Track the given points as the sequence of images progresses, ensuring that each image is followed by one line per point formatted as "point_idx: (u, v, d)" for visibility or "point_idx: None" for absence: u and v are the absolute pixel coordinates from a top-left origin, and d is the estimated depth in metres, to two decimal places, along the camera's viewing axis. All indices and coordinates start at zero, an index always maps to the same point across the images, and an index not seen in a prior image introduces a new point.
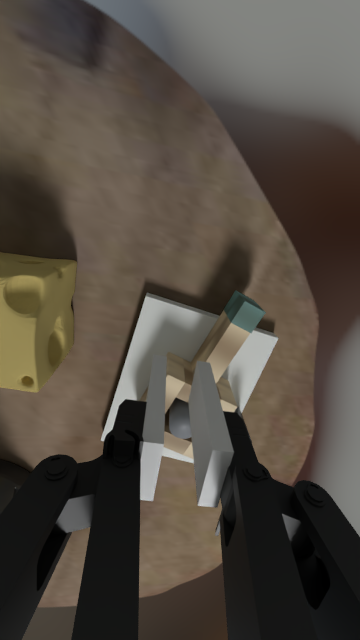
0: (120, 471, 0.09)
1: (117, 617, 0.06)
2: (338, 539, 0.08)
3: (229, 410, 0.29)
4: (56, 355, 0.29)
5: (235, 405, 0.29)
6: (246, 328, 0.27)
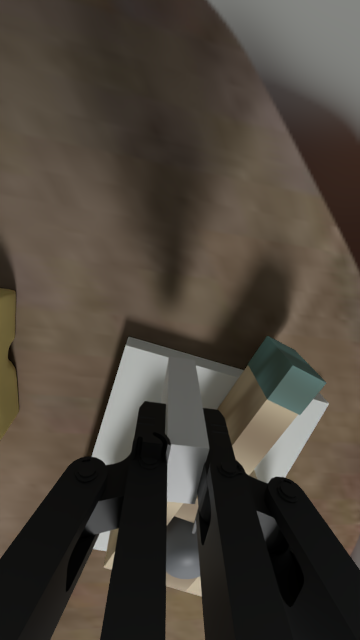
0: (147, 473, 0.09)
1: (145, 618, 0.06)
2: (311, 535, 0.08)
3: None
4: None
5: None
6: (292, 407, 0.16)
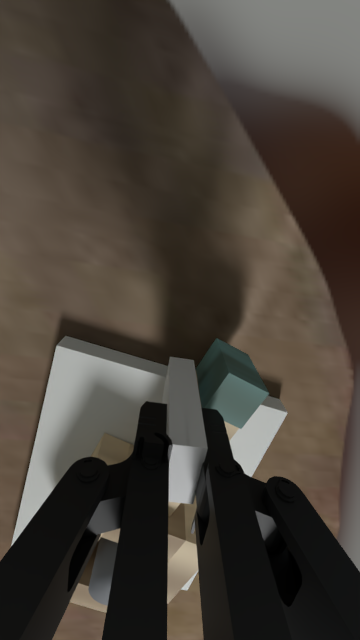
0: (149, 473, 0.09)
1: (147, 618, 0.06)
2: (309, 534, 0.08)
3: None
4: None
5: None
6: (231, 420, 0.14)
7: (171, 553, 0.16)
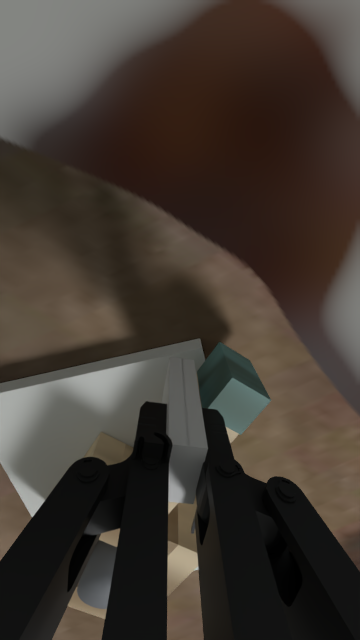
0: (149, 473, 0.09)
1: (146, 618, 0.06)
2: (309, 534, 0.08)
3: (192, 561, 0.16)
4: None
5: None
6: (231, 425, 0.14)
7: None
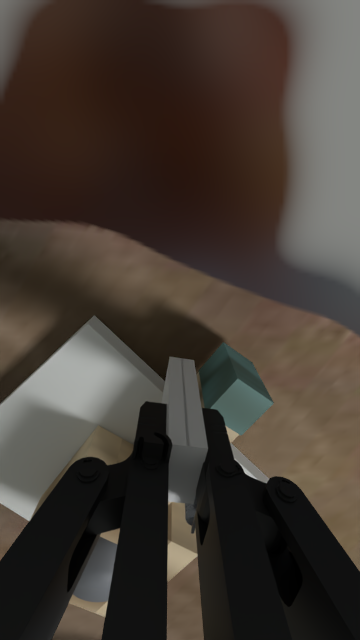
0: (149, 473, 0.09)
1: (146, 619, 0.06)
2: (309, 534, 0.08)
3: (183, 558, 0.16)
4: None
5: (195, 550, 0.16)
6: (232, 425, 0.14)
7: None
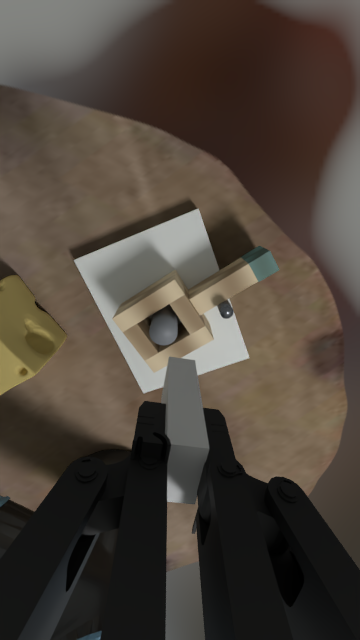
0: (147, 473, 0.09)
1: (145, 618, 0.06)
2: (311, 535, 0.08)
3: (205, 339, 0.32)
4: (49, 347, 0.35)
5: (212, 337, 0.32)
6: (257, 275, 0.30)
7: (194, 330, 0.31)
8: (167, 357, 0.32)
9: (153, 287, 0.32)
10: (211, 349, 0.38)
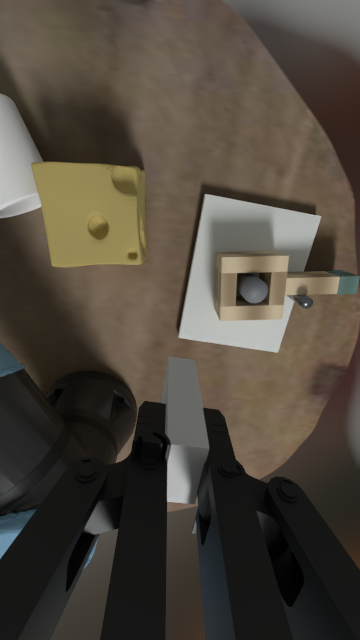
0: (147, 473, 0.09)
1: (145, 618, 0.06)
2: (311, 535, 0.08)
3: (276, 315, 0.36)
4: None
5: (281, 317, 0.37)
6: (340, 288, 0.36)
7: (273, 303, 0.36)
8: (239, 314, 0.36)
9: (258, 253, 0.36)
10: (256, 330, 0.43)
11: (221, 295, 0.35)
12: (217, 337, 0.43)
